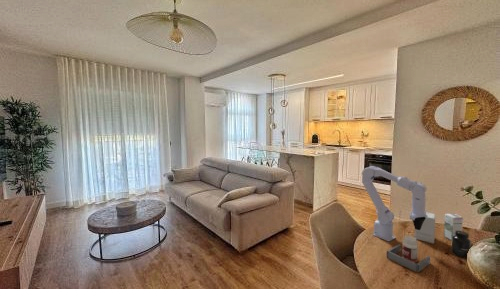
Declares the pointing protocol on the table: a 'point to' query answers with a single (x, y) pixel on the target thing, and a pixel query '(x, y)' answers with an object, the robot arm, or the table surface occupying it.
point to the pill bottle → (410, 248)
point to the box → (411, 265)
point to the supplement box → (427, 229)
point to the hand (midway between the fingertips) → (417, 229)
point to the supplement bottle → (461, 244)
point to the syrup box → (452, 225)
